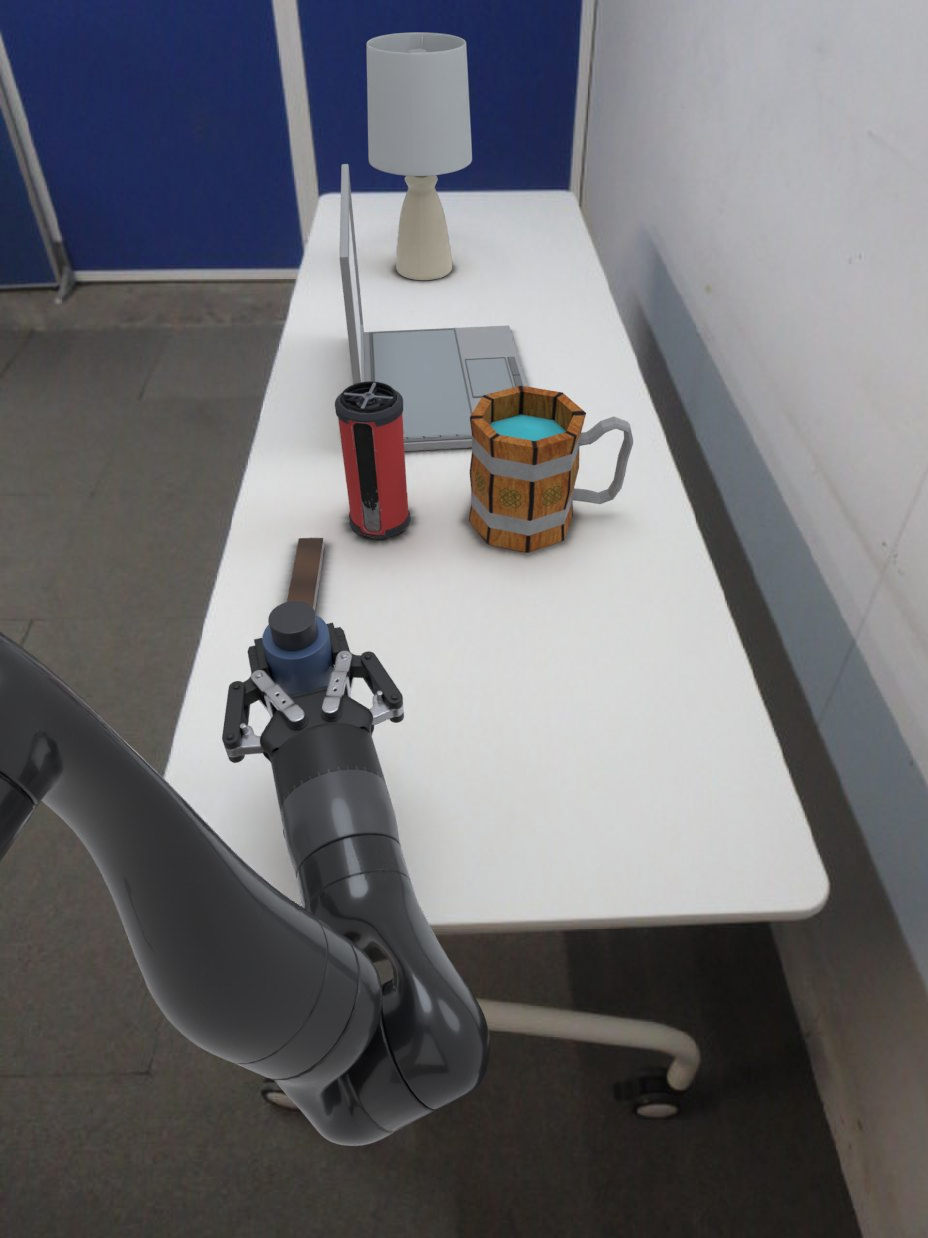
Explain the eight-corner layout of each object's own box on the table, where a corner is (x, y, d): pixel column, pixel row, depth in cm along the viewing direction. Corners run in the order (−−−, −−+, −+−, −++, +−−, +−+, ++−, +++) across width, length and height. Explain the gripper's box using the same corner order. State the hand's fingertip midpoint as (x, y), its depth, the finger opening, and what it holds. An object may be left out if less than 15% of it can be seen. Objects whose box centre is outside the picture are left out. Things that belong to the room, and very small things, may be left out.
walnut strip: (309, 655, 86) (307, 645, 85) (281, 655, 86) (278, 646, 85) (324, 546, 99) (323, 537, 98) (300, 547, 99) (298, 537, 98)
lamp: (475, 252, 164) (477, 31, 138) (467, 290, 151) (467, 55, 125) (385, 249, 165) (370, 29, 139) (369, 287, 152) (349, 53, 126)
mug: (472, 555, 98) (474, 450, 87) (464, 489, 107) (464, 387, 96) (631, 547, 99) (652, 443, 88) (609, 483, 108) (625, 381, 98)
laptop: (542, 444, 115) (558, 248, 95) (359, 454, 113) (338, 257, 94) (508, 332, 139) (516, 158, 120) (357, 339, 137) (340, 163, 118)
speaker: (342, 537, 100) (325, 409, 87) (359, 500, 105) (344, 374, 93) (403, 543, 99) (394, 415, 86) (416, 506, 105) (409, 380, 92)
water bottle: (317, 746, 68) (298, 650, 59) (269, 722, 69) (243, 625, 61) (352, 704, 71) (339, 607, 62) (305, 682, 73) (285, 585, 64)
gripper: (434, 749, 55) (375, 586, 66) (219, 805, 51) (196, 624, 63) (435, 808, 60) (381, 648, 71) (241, 862, 57) (216, 686, 68)
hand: (294, 638), depth 67 cm, fingers closed on water bottle, 5 cm apart
